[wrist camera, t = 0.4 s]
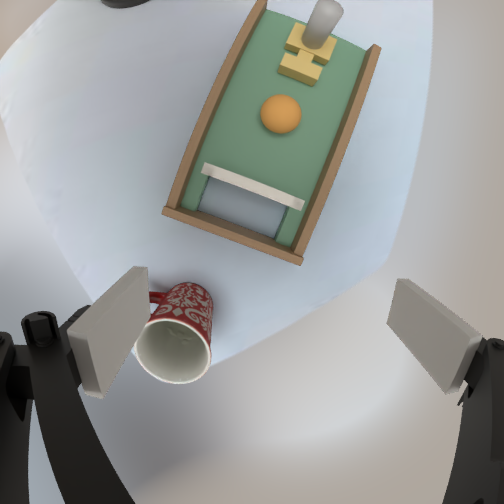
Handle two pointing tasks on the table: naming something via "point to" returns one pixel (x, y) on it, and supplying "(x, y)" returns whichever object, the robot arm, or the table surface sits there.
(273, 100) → the ball
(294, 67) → the kicker
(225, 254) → the table surface
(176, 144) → the table surface
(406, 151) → the table surface
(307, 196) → the pitch
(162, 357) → the mug
